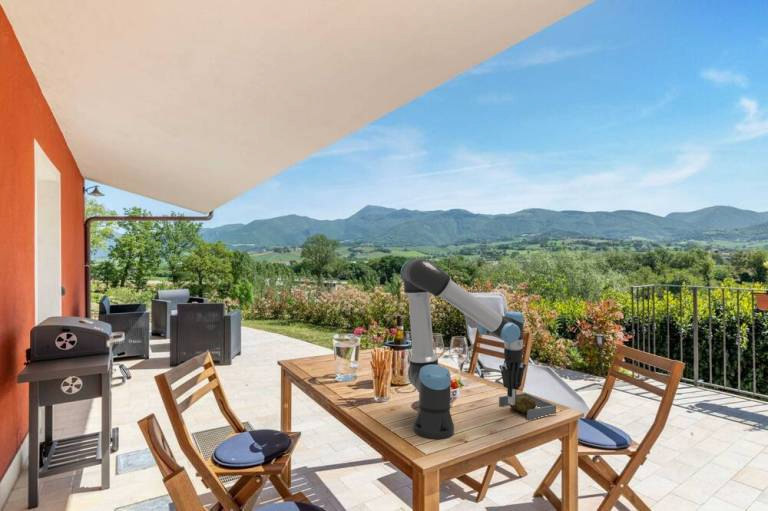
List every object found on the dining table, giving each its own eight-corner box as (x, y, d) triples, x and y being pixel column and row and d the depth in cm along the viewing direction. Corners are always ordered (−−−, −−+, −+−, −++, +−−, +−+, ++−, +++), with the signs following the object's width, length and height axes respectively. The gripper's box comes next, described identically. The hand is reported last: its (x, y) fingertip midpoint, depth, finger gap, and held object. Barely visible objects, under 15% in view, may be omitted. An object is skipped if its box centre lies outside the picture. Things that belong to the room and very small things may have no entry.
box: (528, 420, 173) (528, 410, 173) (498, 405, 189) (499, 396, 189) (555, 414, 180) (556, 405, 180) (525, 401, 196) (525, 392, 196)
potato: (525, 407, 188) (525, 389, 188) (538, 418, 175) (538, 399, 175) (506, 407, 187) (507, 389, 187) (518, 419, 174) (519, 399, 174)
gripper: (507, 351, 174) (505, 409, 175) (531, 349, 180) (529, 405, 180) (495, 347, 181) (493, 402, 181) (518, 345, 187) (516, 399, 187)
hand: (511, 403), depth 181 cm, fingers closed
